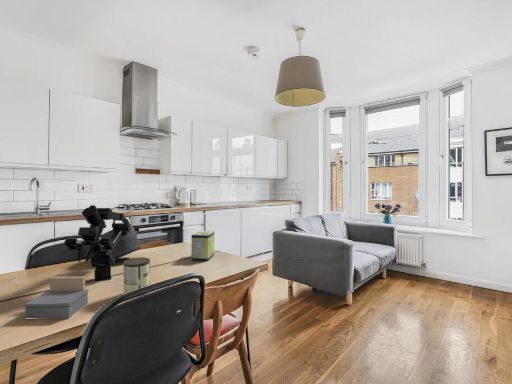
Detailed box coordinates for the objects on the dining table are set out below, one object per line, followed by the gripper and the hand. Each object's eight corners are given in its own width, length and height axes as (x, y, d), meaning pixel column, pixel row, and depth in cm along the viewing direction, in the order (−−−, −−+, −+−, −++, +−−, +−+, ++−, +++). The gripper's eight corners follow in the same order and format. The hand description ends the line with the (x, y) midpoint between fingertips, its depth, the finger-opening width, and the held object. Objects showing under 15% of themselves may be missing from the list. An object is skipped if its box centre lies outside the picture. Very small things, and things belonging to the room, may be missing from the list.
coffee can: (129, 289, 120) (129, 257, 120) (153, 289, 121) (153, 257, 120) (118, 299, 110) (118, 264, 110) (144, 299, 110) (144, 264, 110)
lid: (49, 292, 105) (48, 277, 105) (88, 291, 106) (88, 276, 106) (24, 307, 93) (24, 289, 93) (69, 306, 94) (69, 288, 94)
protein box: (214, 254, 180) (214, 231, 180) (207, 261, 165) (208, 235, 164) (199, 254, 181) (199, 230, 181) (191, 260, 166) (191, 235, 166)
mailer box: (49, 304, 105) (49, 293, 105) (87, 303, 106) (87, 292, 106) (25, 319, 93) (25, 307, 93) (69, 318, 94) (68, 306, 94)
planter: (126, 253, 153) (116, 227, 154) (103, 264, 158) (93, 238, 159) (147, 245, 171) (137, 222, 171) (126, 255, 175) (116, 232, 176)
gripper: (66, 219, 119) (49, 251, 109) (111, 219, 121) (98, 250, 110) (76, 234, 127) (62, 265, 117) (118, 234, 129) (107, 264, 118)
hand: (82, 261), depth 115 cm, fingers open, 3 cm apart
